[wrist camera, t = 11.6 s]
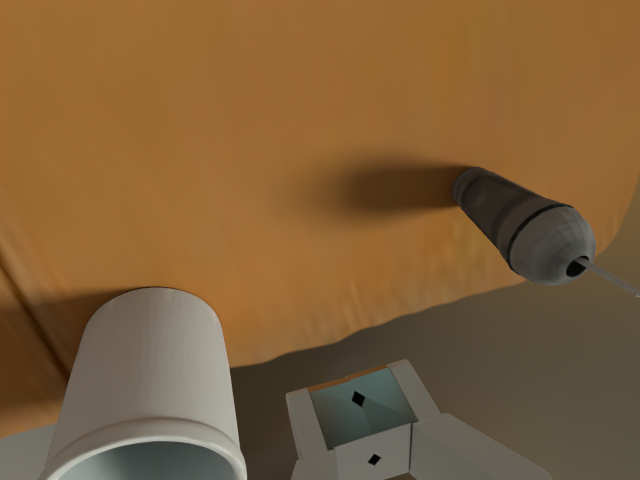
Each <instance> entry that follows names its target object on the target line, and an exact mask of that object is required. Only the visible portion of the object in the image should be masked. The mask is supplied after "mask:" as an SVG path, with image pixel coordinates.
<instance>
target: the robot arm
mask: <svg viewBox="0 0 640 480" xmlns="http://www.w3.org/2000/svg"><path fill="white" fill-rule="evenodd" d="M286 399H287V404H288V410H289V415H290V420H291V425H292V430H293V435H294V439H295V444H296V447H297V451H298V455H299V459H300V460H297V462H296V465H295V468H294V471H293V474H292V477H291V480H384V479H388V478H391V477H394V476H397V475H400V474H404V473H407V472H410V474H411V475H412V476H414V477H415V478H416V479H417V480H553V479H552V477H551V476H550V475H549V473H548V472H547V471H546V470H544V469H542V468H541V467H539V466H537V465H535V464H534V463H532V462H530V461H529V460H527V459H525V458H523V457H522V456H520V455H518V454H517V453H515V452H513V451H512V450H510V449H508V448H506V447H504V446H503V445H501V444H499V443H498V442H496V441H494V440H492V439H491V438H489V437H487V436H486V435H484V434H482V433H481V432H479V431H477V430H475V429H474V428H472V427H471V426H469V425H467V424H465V423H464V422H462V421H460V420H458V419H457V418H455V417H453V416H451V415H450V414H448V413H444V414H440V412H439V410H438V408H437V407H436V405H435V403H434V402H433V400H432V399H431V397H430V395H429V394H428V392H427V390H426V389H425V387H424V385H423V384H422V382H421V380H420V379H419V377H418V375H417V374H416V372H415V370H414V369H413V367H412V365H411V364H410V362H409V361H407V360H401V361H398V362H394V363H391V364H388V365H383V366H379V367H376V368H373V369H369V370H366V371H363V372H360V373H356V374H353V375H350V376H347V377H346V378H343V379H338V380H335V381H331V382H327V383H323V384H320V385H315V386H312V387H308V388H304V389H301V390H297V391H294V392H290V393H287V394H286Z"/></svg>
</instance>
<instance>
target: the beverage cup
mask: <svg viewBox="0 0 640 480" xmlns="http://www.w3.org/2000/svg"><path fill="white" fill-rule="evenodd" d="M452 195H453V198H454V200H455V202H457V203H458V205H459V206H460V207H461V209H462V210H463V211H464V212H465V214H466V215H467V216H468V217H469V218H470V219H471V220H472V221H473V222H474V223H475V225H476V226H477V227H478V228H479V229H480V230H481V231H482V232H483V233H484V234H485V235H486V237H487V238H488V239H489V240H490V241H491V242H492V243H493V244H494V245H495V246H496V247H497V249H498V250H499V251H500V253H501V255H502V257H503V258H504V259H505V261H506V262H507V263H508V265H509V267H510V269H511V270H512V271H514V272H515V273H517V274H518V275H521V276H523V277H524V278H526V279H528V280H530V281H532V282H535V283H539V284H545V285H560V284H565V283H568V282H571V281H573V280H575V279H577V278H578V277H580V276H581V275H582V274H583V273H584V272H586V270H587V269H590V270H592V271H594V272H595V273H597V274H599V275H600V276H602V277H604V278H606V279H607V280H609V281H611V282H612V283H614V284H616V285H618V286H620V287H621V288H623V289H625V290H626V291H628V292H630V293H631V294H633V295H635V296H637V297H640V290H639V289H637V288H635V287H634V286H631V285H630V284H628V283H626V282H625V281H623V280H621V279H619V278H618V277H616V276H614V275H612V274H611V273H609V272H607V271H605V270H603V269H602V268H600V267H598V266H597V265H595V264H593V263H592V261H593V259H594V257H595V250H596V240H595V237H594V234H593V231H592V228H591V226H590V225H589V223H588V222H587V221H586V220H585V219H584V218H583V217H582V216H581V215H580V214H579V213H578V212H577V211H576V210H575V209H574V208H573V207H572V206H570V205H567V204H563V203H560V202H557V201H554V200H551V199H547V198H544V197H542V196H540V195H538V194H536V193H534V192H532V191H530V190H528V189H526V188H524V187H522V186H520V185H518V184H516V183H514V182H512V181H510V180H508V179H506V178H504V177H502V176H500V175H498V174H496V173H494V172H490V171H488V170H485V169H484V168H481V167H472V168H470V169H467V170H466V171H464V172H463V173H462V174H461V175H460V176H459V177H458V178H457V179H456V181H455V183H454V185H453V190H452Z"/></svg>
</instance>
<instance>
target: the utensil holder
mask: <svg viewBox="0 0 640 480" xmlns="http://www.w3.org/2000/svg"><path fill="white" fill-rule="evenodd" d="M38 480H247V472H246V465H245V462H244V458H243V456H242V453H241V451H240V446H239V439H238V430H237V422H236V416H235V407H234V400H233V394H232V386H231V378H230V371H229V365H228V359H227V353H226V348H225V343H224V337H223V332H222V328H221V324H220V322H219V319H218V317H217V315H216V314H215V312H214V311H213V310H212V308H211V307H210V306H209V305H208V304H207V303H205V302H204V301H203V300H201V299H200V298H198V297H196V296H194V295H192V294H190V293H187V292H184V291H181V290H176V289H171V288H159V287H158V288H143V289H138V290H134V291H130V292H127V293H124V294H122V295H119V296H117V297H115V298H113V299H111V300H110V301H108V302H107V303H105V304H104V305H103V306H101V307H100V308H99V309H98V310H97V311H96V312H95V313H94V314H93V315H92V317H91V318H90V320H89V321H88V323H87V325H86V327H85V330H84V333H83V336H82V339H81V342H80V346H79V349H78V353H77V356H76V359H75V362H74V365H73V369H72V372H71V375H70V379H69V382H68V386H67V389H66V393H65V397H64V401H63V404H62V408H61V411H60V415H59V418H58V422H57V425H56V429H55V432H54V435H53V439H52V442H51V446H50V449H49V453H48V456H47V460H46V464H45V468H44V470H43V472H42V473H41V475H40V477H39V478H38Z"/></svg>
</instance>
